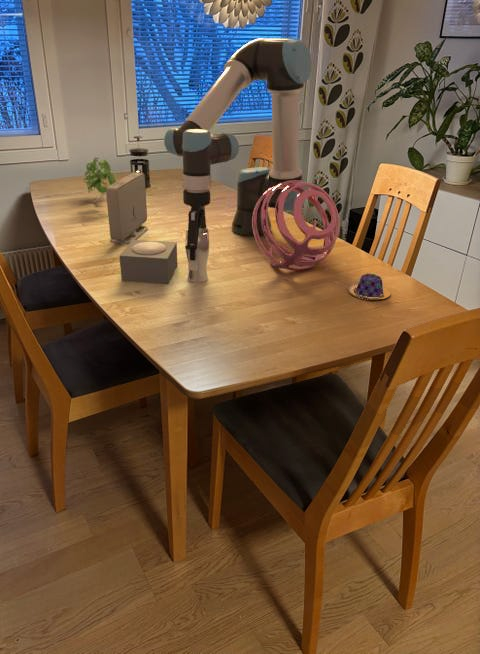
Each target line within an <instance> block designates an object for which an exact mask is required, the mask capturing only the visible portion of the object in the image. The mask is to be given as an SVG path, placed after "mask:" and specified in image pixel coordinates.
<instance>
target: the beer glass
mask: <svg viewBox="0 0 480 654" xmlns="http://www.w3.org/2000/svg"><path fill="white" fill-rule="evenodd" d="M207 229H208V228H205V229H204V228H199V235H198V245H197V247H198V271H193V270H188V274H187V280H188V282H190V283H193V284H196V283H197V284H200V283H205V282H207V281H208V279H209V277H208V272H207V270H208V269H207V267H208V266H207V265H208V260H209V255H210V236H209V235H210V232H209V229H208V230H207ZM187 236H188V229H186V231H185V246H187ZM191 245H194V244H191ZM185 254H186V259H187V260H188V249H185Z"/></svg>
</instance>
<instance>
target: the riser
mask: <svg viewBox="0 0 480 654" xmlns="http://www.w3.org/2000/svg"><path fill="white" fill-rule="evenodd" d="M131 240H132V239H131ZM131 240H130V241H131ZM177 244H178V243H177V241H166V240H165V241H162V240H145V239H144V240H143V239H142V240H141V239H137V240H132V241H131V242H130V243H129V244H128V245H127V246H126V247H125V248H124V249H123V251H122V252H121V253H120V254H119V265H120V266H119V267H120V276H121V282H131V283H143V284H145V283H147V284H161V285H162V284H163V285H169V283H170V281H171V279H172V278H173V276H174V274H175V271H177V268H178V245H177Z"/></svg>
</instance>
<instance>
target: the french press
mask: <svg viewBox="0 0 480 654" xmlns="http://www.w3.org/2000/svg"><path fill="white" fill-rule="evenodd" d="M133 139H136V141H137V147H138V148H131V149H129V150H128V151H129V152H130V156H132V157H138V158H134V159H130V160H129V164H130V174H132V173H133V172H135V173H144V175H145V189H147V188H150V187H151V177H150V160H149V159H147V158H140V157H146V156H148V154H149V149H147V148H140V144H139V141H140V139H143V136H140V135H138V136H133ZM133 166H134V167H133ZM138 166H139V167H138ZM133 168H134V171H133ZM139 168H141V169H139Z"/></svg>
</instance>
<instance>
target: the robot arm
mask: <svg viewBox="0 0 480 654" xmlns="http://www.w3.org/2000/svg"><path fill="white" fill-rule="evenodd" d="M312 64H313V63H312V55H311V52H310V48H309V47H308V46H307V44H306V43H305V42H304V41H303V40H299V39H293V38H264V37H263V38H262V37H261V38H256V39H254V40H251V41H249V42H248V43H246V44H244V45H243V46H241V48H239V49H238V50H236V52H234V53H233V54H232V56H230V58H229V59H228V60H227V62H226V63H225V64H224V67H223V68H224V69H223V70H224V71H223V72H222V73H221V75H219V77H218V79H217V80H216V81H215V82H214V84H213V85H212V86H211V87H210V88H209V90H208V91H207V92H206V93H205V95H204V96H203V97H202V99H201V100H200V102H199V103H198V104H197V105H196V106H195V108H194V109H193V111H192V112H191V113H190V114H189V116H188V117H187V118H186V119H185V121H184V122H183V123H182V124H181V125H180V127H172V128H169V129H168V130H167V131H166V132H165V135H164V138H163V140H164V141H163V143H164V144H163V145H164V147H165V150H166V151H167V152H168V154H171V155H174V156H179V157H182V174H183V175H182V176H181V178H180V179H181V181H182V180H183V183H182V184H183V185H182V187H183V192H182V195H183V197H182V199H183V204H185V205H186V206H189V207H191V208H190V210H189V212H188V215H187V216H188V219H187V220H188V222H187V224H188V225H187V230H188V236H187V246H186V245H185V246H184V247H185V248H184V249H185V250H186V249H188V259H187V263H188V271H189V270H193V271H198V247H197V245H198V235H199V228H204V229H207V230H208V231H209V229H208V228H207V223H206V222H207V220H206V219H207V218H206V207H207V206H209V205H210V204H211V191H210V189H211V186H212V185H211V183H212V180H211V177H212V176H211V175H212V173H211V166H212V165H216V164H221V163H227V162H229V161H232V160H233V159H235V158H236V157H237V156H238V153H239V150H240V145H239V144H240V143H239V141H238V139H237V137H236V136H234V134H232V133H230V132H228V133H224V132H222V133H212V132H211V131H212V129H213V128H214V127H215V126H216V124H217V123H218V122H219V120H220V119H221V118H222V116H223V115H224V114H225V112H226V111H227V110H228V109H229V108H230V106H231V105H232V103H233V102H234V100H235V99H236V98H237V97H238V95H239V94H240V93H241V91H242V90H243V89H247V88H248V87H250V85H251V84H252V83H253V82H254V81H259V80H260V81H266V90H267V91H268V92H269V93H270V94H271V132H272V133H271V134H272V137H271V138H272V169H270V168H269V167H265V166H264V167H263V166H262V167H261V166H260V167H258V166H256V167H248V168H243V169H241V170H240V171H239V172H238V173H237V182H236V183H237V192H236V194H237V196H236V212H235V215H234V218H233V221H232V224H231V230H232V232H233V233H235V234H237V235H240V236H247V237H254V233H253V228H252V216H253V211H254V208H255V205H256V203H257V201H258V200H259V198H260V197H261V196H262V195H263V193H265V192H266V191H267V190H268V189H270V188H272V187H274V186H276V185H278V184H279V183H282V182H285V181H289V180H299V181H304V182H308V180H306V179H304V178H303V170H302V169H301V168H299V112H300V111H299V109H300V108H299V105H300V104H299V102H300V101H299V96H300V92H301V91H302V90H303V88H304V85H305V84H304V83H307V82H308V80H309V79H310V75H311V72H312ZM290 184H292V183H290ZM300 187H301V188H303V189H305V190H310V188H308V187H306V186H300ZM282 190H283V189H277V190H276V191H275V192H274V194H273V195H272V197H271V199H270V201H269V205H268V208H271V209H275V206H276V202H277V199H278V197H279V195H280V193H281V192H282ZM299 194H300V193H298V192H296V191H293V190H292V191H291V192H290V193H289V194H288V196H287V197H286V199H285V202H284V208H283V212H288V213H289V212H291V213H293V205H294V201H295V199H296V197H297V196H298V195H299ZM265 197H266V196H265ZM265 197H264V198H263V199H262V201H261V202H260V204H259V207H258V210H257V217H256V223H257V230H258V234H259V237H261V236H264V233H263V230H262V225H261V208H262V204H263V201H264V199H265ZM306 200H307V199H306ZM306 200H305V201H304V202H303V205H302V207H303V206H304V204H305V202H306ZM269 214H270V213H269V210H267V219H268V225H269V229H270V232H271V233H272V222H271V218H270V215H269ZM191 244H194V245H191Z"/></svg>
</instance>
